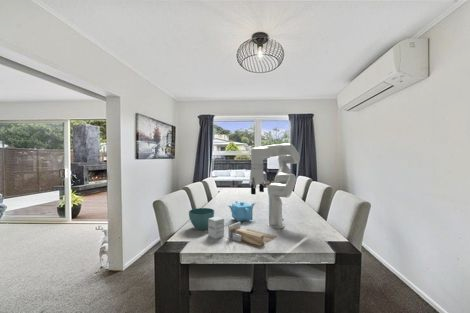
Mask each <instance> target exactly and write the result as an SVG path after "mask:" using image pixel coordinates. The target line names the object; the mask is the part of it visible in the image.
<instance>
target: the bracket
mask: <svg viewBox="0 0 470 313" xmlns="http://www.w3.org/2000/svg"><path fill="white" fill-rule="evenodd" d="M237 229H241V223H240V222H238V221H237V222H235V223H232V224H230V225H228V228H227V230H228V231H227V232H228V237H227V238H228V240H230V239H231V241H234V240H235V241H234V242H237V241H238V243H240V242H241V241H242V235H239V234H236V233H235V230H237Z"/></svg>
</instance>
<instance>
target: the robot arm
mask: <svg viewBox="0 0 470 313" xmlns="http://www.w3.org/2000/svg"><path fill="white" fill-rule="evenodd" d="M250 155H251V157H250V159H251V160H250V162H251V165H250V166H251V168H250V175H249V176H250V177H249V182H248V183H249V187H250V195H257V193H256V186H257V185H259V186H258V189H259V190H258V191H259V193H264V192H265V182H266V178H264V175H265V174H264V159H270V158H273V157H277V158H278V159H277V161H278V168H279V169H278V170H277V172H276V175H275V176H274V182H271V183H269V184H268V185H267V196H268V223H266V226H267V227H271V228H275V229H278V230H281V229H284V228H285V224H284V223H283V222H284V221H285V219H284V218H283V201H282V198H290V197H291V195H292V193H293V190H294V189H295V186H296V183H297V176H296V175H295V174H294V173H291V169H290V167H289V166H288V165H287V164H289V165H290V164H292V165H293V164H294V165H295V164H298V163H299V162H300V160H301V157H300V154H299V151H297V149H296V147H295V145H294V144H292V143H275V144H270V145H269V144H268V145H263V146H258V147H257V146H256V147H252V148H251V150H250Z"/></svg>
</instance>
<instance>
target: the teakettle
mask: <svg viewBox="0 0 470 313" xmlns="http://www.w3.org/2000/svg"><path fill="white" fill-rule="evenodd" d="M255 205H256V202H253V203H251V204H249V203H247V202H244V201H240V202H238V201H237V200H235V202H234V203H231V205H228V208H229V209H230V212H231V217H232V218H233V219H234V221H237V222H240V224H242V222H245V221H246V222H248V223H250V221H252V220H253V208H254V206H255Z"/></svg>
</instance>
